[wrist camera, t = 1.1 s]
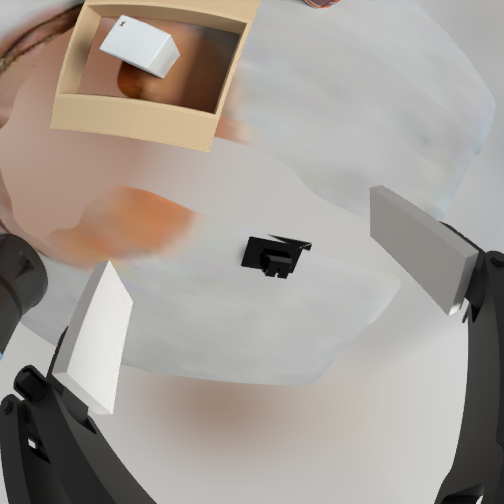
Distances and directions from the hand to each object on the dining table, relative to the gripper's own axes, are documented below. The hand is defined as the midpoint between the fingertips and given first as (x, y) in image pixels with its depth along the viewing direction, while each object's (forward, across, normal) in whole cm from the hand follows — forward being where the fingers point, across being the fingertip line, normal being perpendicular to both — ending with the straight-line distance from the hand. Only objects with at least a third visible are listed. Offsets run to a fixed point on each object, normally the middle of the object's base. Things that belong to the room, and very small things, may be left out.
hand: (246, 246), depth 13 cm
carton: (+27, -5, +15) cm, 31 cm away
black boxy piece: (+28, +4, -19) cm, 34 cm away
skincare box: (+27, -5, +15) cm, 32 cm away
